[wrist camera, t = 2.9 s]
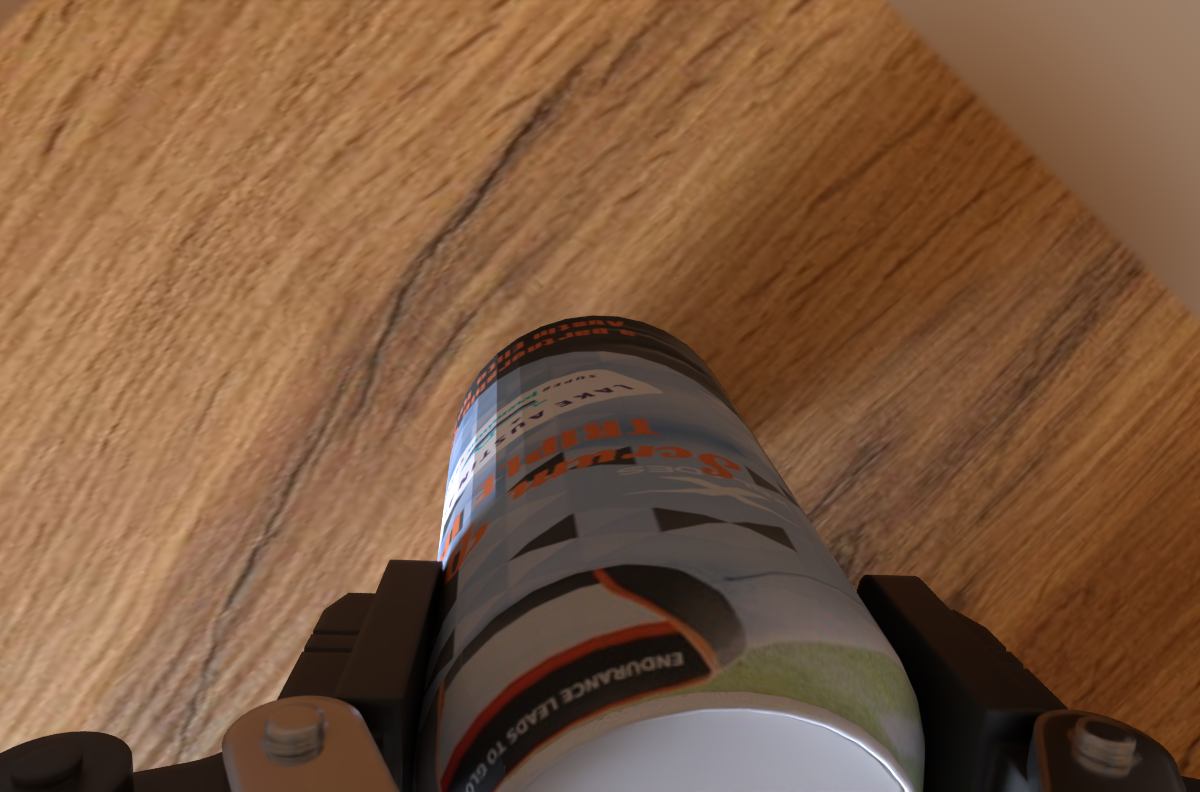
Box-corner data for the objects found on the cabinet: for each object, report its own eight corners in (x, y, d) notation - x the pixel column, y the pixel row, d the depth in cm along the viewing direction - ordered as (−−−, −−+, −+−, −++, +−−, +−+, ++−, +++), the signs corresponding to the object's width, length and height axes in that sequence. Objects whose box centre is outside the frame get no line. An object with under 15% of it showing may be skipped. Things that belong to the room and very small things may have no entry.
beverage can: (641, 253, 19) (780, 357, 7) (798, 524, 21) (1118, 964, 9) (397, 401, 19) (159, 722, 8) (570, 654, 21) (589, 1235, 9)
